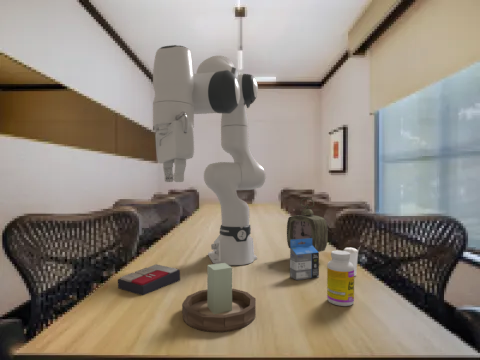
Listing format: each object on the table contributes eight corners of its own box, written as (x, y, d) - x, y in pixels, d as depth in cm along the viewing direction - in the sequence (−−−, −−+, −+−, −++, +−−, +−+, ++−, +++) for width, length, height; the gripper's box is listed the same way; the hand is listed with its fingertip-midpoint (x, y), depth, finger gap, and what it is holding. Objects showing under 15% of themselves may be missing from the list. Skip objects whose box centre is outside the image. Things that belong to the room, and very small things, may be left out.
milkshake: (362, 277, 96) (361, 246, 96) (344, 276, 97) (344, 246, 97) (359, 273, 100) (359, 244, 100) (342, 272, 101) (342, 243, 101)
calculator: (116, 276, 86) (156, 262, 99) (117, 291, 86) (156, 274, 99) (141, 283, 80) (180, 267, 93) (142, 299, 80) (180, 280, 93)
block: (207, 306, 70) (207, 265, 70) (224, 303, 72) (224, 262, 72) (214, 314, 66) (214, 270, 66) (232, 310, 68) (232, 267, 68)
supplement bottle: (351, 309, 72) (351, 256, 72) (324, 303, 75) (324, 253, 75) (356, 300, 77) (356, 251, 77) (331, 295, 81) (330, 248, 81)
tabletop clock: (286, 257, 121) (286, 197, 121) (301, 254, 126) (300, 196, 126) (315, 265, 109) (315, 198, 110) (330, 261, 115) (329, 198, 115)
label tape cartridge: (296, 280, 92) (296, 241, 93) (289, 277, 96) (289, 239, 96) (319, 277, 96) (319, 239, 96) (312, 274, 99) (312, 237, 100)
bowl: (175, 306, 73) (175, 294, 73) (237, 295, 80) (237, 284, 80) (195, 339, 58) (195, 324, 58) (269, 321, 65) (269, 308, 65)
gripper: (202, 110, 57) (202, 181, 57) (176, 128, 75) (176, 182, 75) (169, 107, 54) (169, 181, 54) (151, 126, 72) (151, 182, 72)
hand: (173, 182), depth 65 cm, fingers open, 8 cm apart
